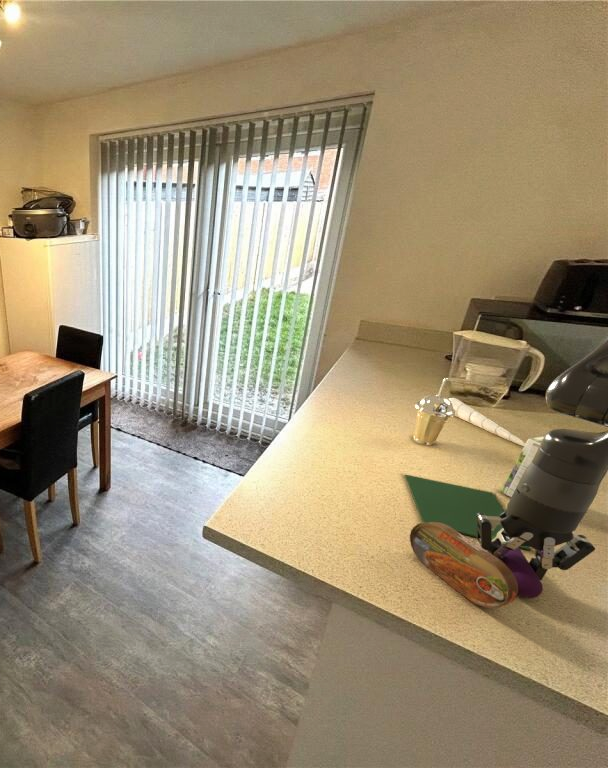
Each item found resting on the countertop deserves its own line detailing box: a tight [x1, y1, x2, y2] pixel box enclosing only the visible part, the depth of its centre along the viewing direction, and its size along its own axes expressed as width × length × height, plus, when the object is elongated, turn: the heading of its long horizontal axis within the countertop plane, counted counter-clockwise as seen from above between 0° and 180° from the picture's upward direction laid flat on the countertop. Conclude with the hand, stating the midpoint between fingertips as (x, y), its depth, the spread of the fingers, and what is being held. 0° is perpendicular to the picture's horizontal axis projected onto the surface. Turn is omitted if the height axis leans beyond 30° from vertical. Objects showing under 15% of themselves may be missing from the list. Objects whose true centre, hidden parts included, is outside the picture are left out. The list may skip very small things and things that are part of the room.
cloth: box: [404, 474, 531, 552], centre depth 83 cm, size 16×18×1 cm
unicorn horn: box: [448, 397, 526, 447], centre depth 113 cm, size 5×24×5 cm, turn 4°
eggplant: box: [492, 536, 544, 599], centre depth 68 cm, size 4×13×4 cm, turn 154°
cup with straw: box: [412, 377, 474, 446], centre depth 104 cm, size 8×9×20 cm
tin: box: [409, 522, 518, 609], centre depth 66 cm, size 15×3×8 cm, turn 13°
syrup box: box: [501, 436, 545, 498], centre depth 83 cm, size 6×6×14 cm
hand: (509, 573), depth 68 cm, fingers closed on eggplant, 4 cm apart
